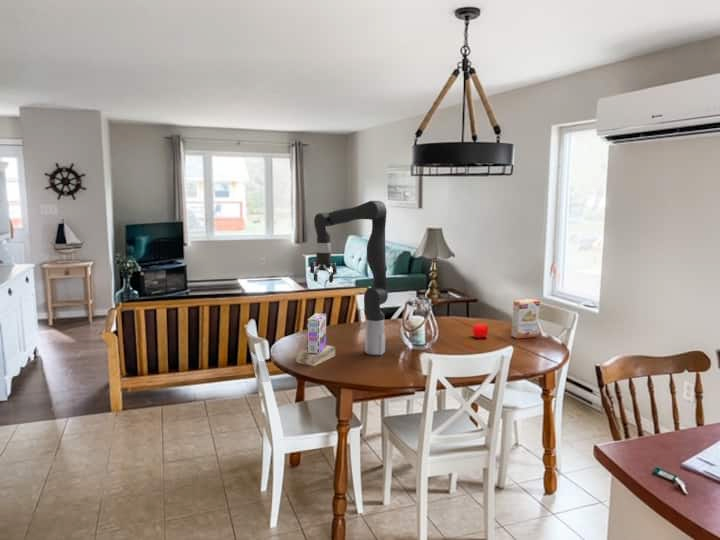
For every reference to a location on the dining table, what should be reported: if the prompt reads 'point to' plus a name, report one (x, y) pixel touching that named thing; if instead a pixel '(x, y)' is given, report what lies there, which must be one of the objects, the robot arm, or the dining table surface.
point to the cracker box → (525, 318)
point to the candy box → (316, 333)
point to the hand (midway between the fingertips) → (323, 281)
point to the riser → (315, 356)
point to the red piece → (480, 331)
